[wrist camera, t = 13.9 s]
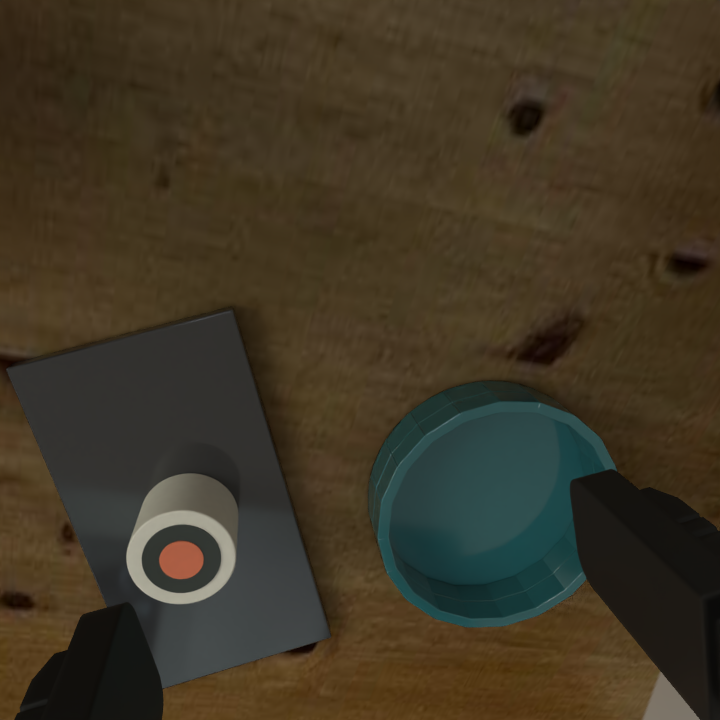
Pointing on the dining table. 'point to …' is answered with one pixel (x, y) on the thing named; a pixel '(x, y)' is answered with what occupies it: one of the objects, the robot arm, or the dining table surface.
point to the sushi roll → (184, 539)
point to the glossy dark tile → (169, 458)
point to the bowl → (483, 503)
